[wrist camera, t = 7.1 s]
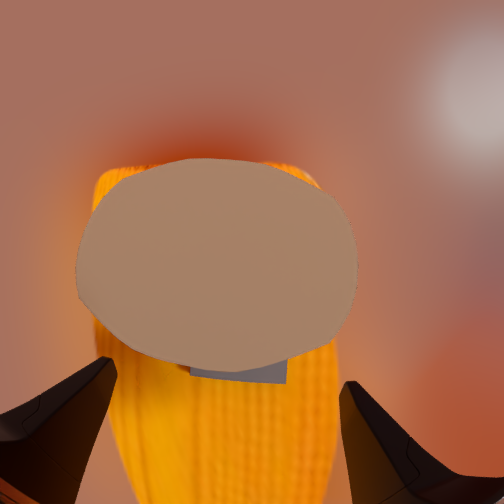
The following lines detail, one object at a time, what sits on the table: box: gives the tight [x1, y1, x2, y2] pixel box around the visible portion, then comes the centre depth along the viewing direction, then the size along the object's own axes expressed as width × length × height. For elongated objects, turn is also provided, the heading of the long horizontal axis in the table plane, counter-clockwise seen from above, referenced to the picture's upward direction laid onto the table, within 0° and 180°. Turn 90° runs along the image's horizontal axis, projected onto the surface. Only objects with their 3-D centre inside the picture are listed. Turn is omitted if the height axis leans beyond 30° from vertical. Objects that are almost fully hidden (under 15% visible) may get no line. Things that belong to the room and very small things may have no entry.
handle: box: [76, 158, 358, 372], centre depth 12 cm, size 5×6×15 cm
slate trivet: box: [190, 359, 287, 384], centre depth 20 cm, size 8×7×1 cm
